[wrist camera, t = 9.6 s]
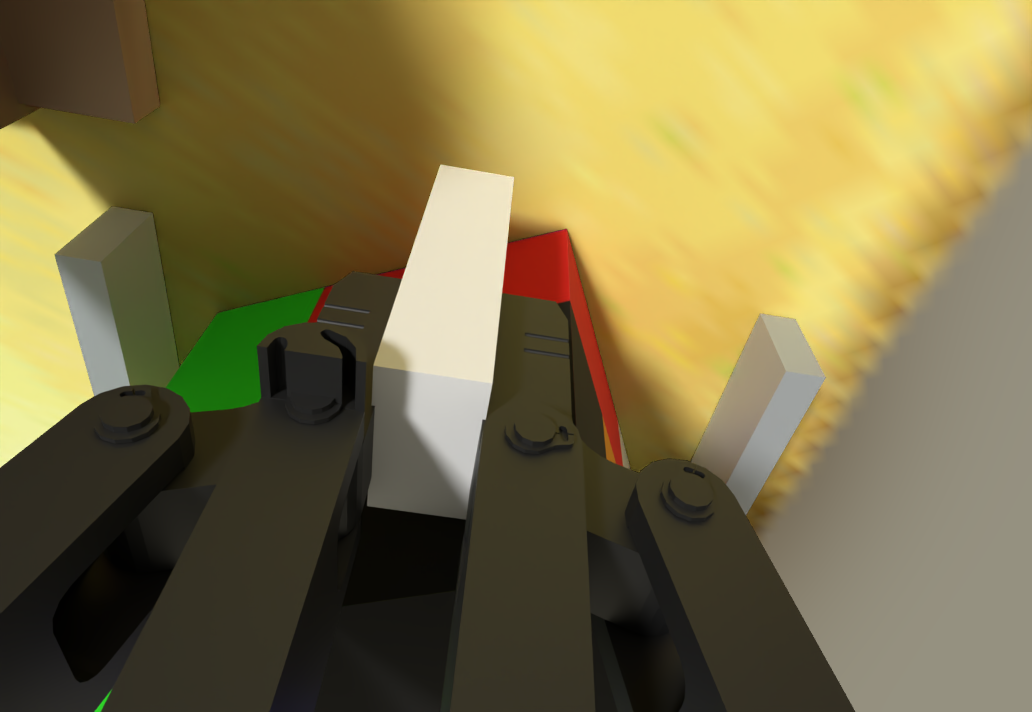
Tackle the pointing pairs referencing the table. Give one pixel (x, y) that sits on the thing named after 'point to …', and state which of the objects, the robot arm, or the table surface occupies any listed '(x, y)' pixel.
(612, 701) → the puzzle toy
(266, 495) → the robot arm
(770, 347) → the corral
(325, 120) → the table surface
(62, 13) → the screen
